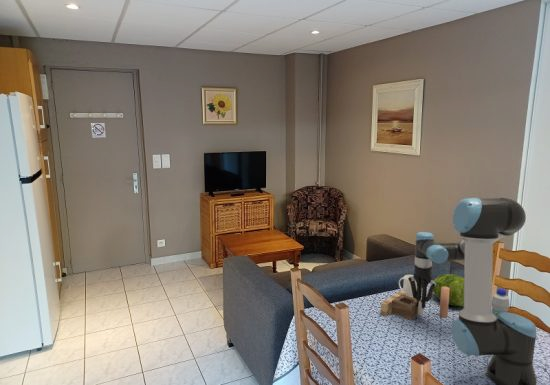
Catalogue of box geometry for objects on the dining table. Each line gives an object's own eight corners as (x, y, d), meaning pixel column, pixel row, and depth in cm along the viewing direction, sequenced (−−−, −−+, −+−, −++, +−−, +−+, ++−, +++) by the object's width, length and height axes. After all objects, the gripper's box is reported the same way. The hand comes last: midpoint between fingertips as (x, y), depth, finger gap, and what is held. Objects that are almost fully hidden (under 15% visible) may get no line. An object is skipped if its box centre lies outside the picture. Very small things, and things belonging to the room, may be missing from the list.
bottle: (508, 337, 168) (513, 292, 165) (491, 335, 169) (496, 291, 166) (503, 329, 174) (507, 286, 171) (486, 327, 176) (490, 285, 172)
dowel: (445, 318, 184) (447, 290, 182) (438, 315, 187) (440, 287, 185) (448, 315, 187) (450, 287, 185) (441, 313, 189) (443, 285, 187)
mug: (393, 296, 209) (394, 274, 207) (404, 292, 213) (405, 271, 212) (412, 304, 199) (413, 281, 197) (422, 300, 204) (424, 278, 202)
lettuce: (448, 297, 214) (440, 270, 215) (482, 300, 195) (473, 270, 196) (427, 307, 207) (419, 279, 208) (460, 311, 188) (451, 280, 189)
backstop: (386, 316, 186) (386, 304, 185) (380, 314, 188) (381, 302, 187) (405, 303, 200) (406, 292, 199) (400, 301, 202) (400, 290, 201)
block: (411, 320, 182) (411, 307, 181) (391, 313, 189) (392, 300, 188) (420, 313, 189) (421, 300, 188) (401, 306, 196) (401, 294, 195)
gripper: (440, 266, 179) (437, 315, 183) (413, 260, 188) (411, 307, 191) (433, 271, 174) (430, 321, 177) (406, 264, 182) (404, 312, 186)
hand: (420, 313), depth 184 cm, fingers closed
